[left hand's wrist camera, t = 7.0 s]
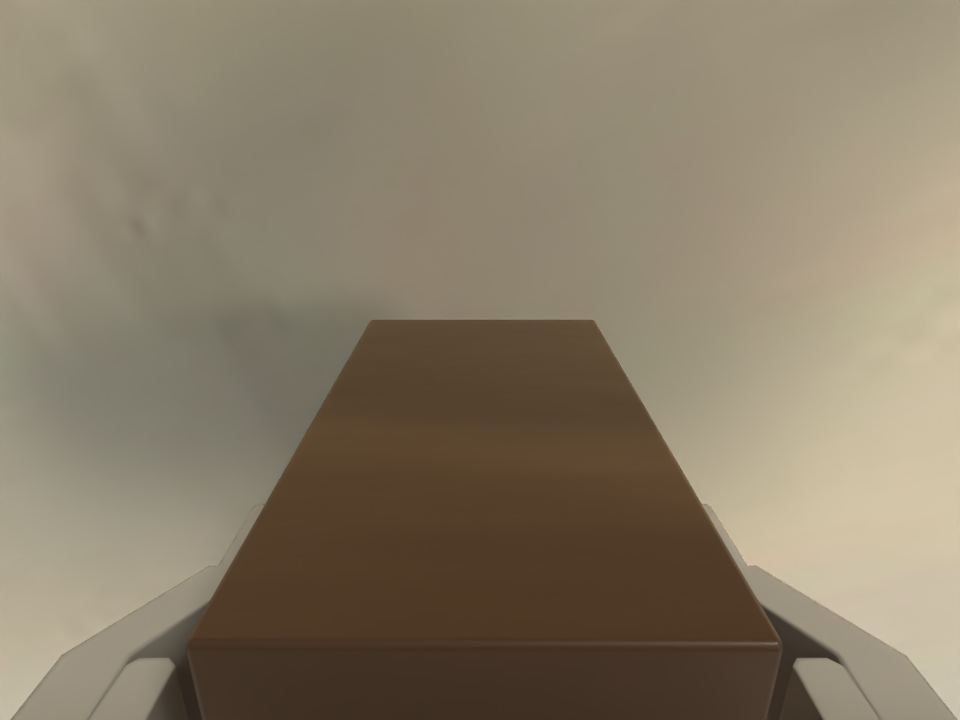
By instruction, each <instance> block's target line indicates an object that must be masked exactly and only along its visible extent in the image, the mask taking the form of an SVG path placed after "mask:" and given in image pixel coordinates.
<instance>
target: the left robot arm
mask: <svg viewBox="0 0 960 720" xmlns="http://www.w3.org/2000/svg"><path fill="white" fill-rule="evenodd" d="M264 505H265V504H259V505H257V506H255V507H254V508H253V509H252V510H251V512H250V514H249V515H248V517H247V519H246V520H245V522H244V524H243V525H242V527H241V529H240V530H239V532H238V534H237V535H236V537H235V539H234V540H233V542H232V544H231V545H230V547H229V549H228V550H227V552H226V554H225V555H224V557H223V559H222V560H221V562H220V564H219V565H218V566H208V567H207V568H205V569H203V570H202V571H200V572H199V573H197V574H195V575H194V576H192V577H190V578H189V579H187V580H185V581H184V582H182V583H180V584H179V585H177V586H175V587H174V588H172V589H170V590H169V591H167V592H165V593H164V594H162V595H160V596H159V597H157V598H156V599H154V600H152V601H151V602H149V603H147V604H146V605H144V606H142V607H141V608H139V609H137V610H136V611H134V612H132V613H131V614H129V615H127V616H126V617H124V618H122V619H121V620H119V621H117V622H116V623H114V624H113V625H111V626H109V627H108V628H106V629H104V630H103V631H101V632H99V633H98V634H96V635H94V636H93V637H91V638H89V639H88V640H86V641H84V642H83V643H81V644H79V645H78V646H76V647H74V648H73V649H71V650H70V651H68V652H66V653H65V654H63V655H62V656H61V657H60V658H59V659H58V661H57V662H56V663H55V664H54V666H53V667H52V668H51V669H50V671H49V672H48V673H47V674H46V676H45V677H44V678H43V680H42V681H41V682H40V683H39V685H38V686H37V687H36V688H35V690H34V691H33V692H32V693H31V695H30V696H29V697H28V698H27V700H26V701H25V702H24V703H23V705H22V706H21V707H20V709H19V710H18V711H17V712H16V714H15V715H14V716H13V717H12V719H11V720H202V717H201V712H200V708H199V704H198V700H197V695H196V691H195V687H194V682H193V678H192V674H191V669H190V665H189V661H188V656H187V652H186V643H187V640H188V638H189V636H190V634H191V633H192V631H193V629H194V627H195V626H196V624H197V622H198V620H199V619H200V617H201V615H202V613H203V612H204V610H205V608H206V606H207V605H208V603H209V601H210V599H211V598H212V596H213V594H214V593H215V591H216V589H217V587H218V586H219V584H220V582H221V580H222V579H223V577H224V575H225V573H226V572H227V570H228V568H229V566H230V565H231V563H232V561H233V559H234V558H235V556H236V554H237V552H238V551H239V549H240V547H241V545H242V544H243V542H244V540H245V539H246V537H247V535H248V533H249V532H250V530H251V528H252V526H253V525H254V523H255V521H256V519H257V518H258V516H259V514H260V512H261V511H262V509H263V507H264ZM702 506H703V507H704V509H705V511H706V512H707V514H708V516H709V518H710V519H711V521H712V523H713V524H714V526H715V528H716V530H717V531H718V533H719V535H720V536H721V538H722V540H723V541H724V543H725V545H726V547H727V548H728V550H729V552H730V553H731V555H732V557H733V559H734V560H735V562H736V564H737V565H738V567H739V569H740V570H741V572H742V574H743V576H744V577H745V579H746V581H747V582H748V584H749V586H750V588H751V589H752V591H753V593H754V594H755V596H756V598H757V599H758V601H759V603H760V605H761V606H762V608H763V610H764V611H765V613H766V615H767V617H768V618H769V620H770V622H771V623H772V625H773V627H774V629H775V630H776V632H777V634H778V635H779V637H780V639H781V641H782V645H783V652H782V656H781V660H780V665H779V669H778V673H777V677H776V682H775V686H774V690H773V694H772V698H771V703H770V707H769V711H768V715H767V719H766V720H957V718H956V717H955V716H954V715H953V713H952V712H951V711H950V710H949V708H948V707H947V706H946V705H945V703H944V702H943V701H942V700H941V698H940V697H939V696H938V695H937V693H936V692H935V691H934V690H933V688H932V687H931V686H930V685H929V683H928V682H927V681H926V680H925V678H924V677H923V676H922V675H921V673H920V672H919V671H918V670H917V668H916V667H915V666H914V665H913V663H912V662H911V661H910V660H909V658H908V657H907V656H906V655H904V654H902V653H901V652H899V651H897V650H896V649H894V648H892V647H891V646H889V645H887V644H886V643H884V642H882V641H881V640H879V639H877V638H876V637H874V636H872V635H871V634H869V633H867V632H866V631H864V630H862V629H861V628H859V627H857V626H856V625H854V624H852V623H851V622H849V621H847V620H846V619H844V618H842V617H841V616H839V615H837V614H836V613H834V612H832V611H831V610H829V609H827V608H826V607H824V606H822V605H821V604H819V603H817V602H816V601H814V600H812V599H811V598H809V597H807V596H806V595H804V594H802V593H801V592H799V591H797V590H796V589H794V588H792V587H791V586H789V585H787V584H786V583H784V582H782V581H781V580H779V579H778V578H776V577H774V576H773V575H771V574H769V573H768V572H766V571H764V570H763V569H761V568H759V567H758V566H747V564H746V562H745V561H744V559H743V558H742V556H741V554H740V553H739V551H738V549H737V548H736V546H735V545H734V543H733V541H732V540H731V538H730V537H729V535H728V533H727V532H726V530H725V528H724V527H723V525H722V524H721V522H720V520H719V519H718V517H717V516H716V514H715V512H714V511H713V509H712V507H711V506H709V505H707V504H702Z"/></svg>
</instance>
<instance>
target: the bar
mask: <svg viewBox="0 0 960 720" xmlns="http://www.w3.org/2000/svg"><path fill="white" fill-rule="evenodd" d="M186 652H187V656H188V661H189V665H190V669H191V674H192V678H193V682H194V687H195V691H196V695H197V700H198V704H199V708H200V712H201V717H202V720H766V719H767V715H768V711H769V707H770V703H771V698H772V694H773V690H774V686H775V682H776V677H777V673H778V669H779V665H780V660H781V656H782V652H783V645H782V641H781V639H780V637H779V635H778V634H777V632H776V630H775V629H774V627H773V625H772V623H771V622H770V620H769V618H768V617H767V615H766V613H765V611H764V610H763V608H762V606H761V605H760V603H759V601H758V599H757V598H756V596H755V594H754V593H753V591H752V589H751V588H750V586H749V584H748V582H747V581H746V579H745V577H744V576H743V574H742V572H741V570H740V569H739V567H738V565H737V564H736V562H735V560H734V559H733V557H732V555H731V553H730V552H729V550H728V548H727V547H726V545H725V543H724V541H723V540H722V538H721V536H720V535H719V533H718V531H717V530H716V528H715V526H714V524H713V523H712V521H711V519H710V518H709V516H708V514H707V512H706V511H705V509H704V507H703V506H702V504H701V502H700V501H699V499H698V497H697V495H696V494H695V492H694V490H693V489H692V487H691V485H690V483H689V482H688V480H687V478H686V477H685V475H684V473H683V471H682V470H681V468H680V466H679V465H678V463H677V461H676V460H675V458H674V456H673V454H672V453H671V451H670V449H669V448H668V446H667V444H666V442H665V441H664V439H663V437H662V436H661V434H660V432H659V431H658V429H657V427H656V425H655V424H654V422H653V420H652V419H651V417H650V415H649V413H648V412H647V410H646V408H645V407H644V405H643V403H642V402H641V400H640V398H639V396H638V395H637V393H636V391H635V390H634V388H633V386H632V384H631V383H630V381H629V379H628V378H627V376H626V374H625V373H624V371H623V369H622V367H621V366H620V364H619V362H618V361H617V359H616V357H615V355H614V354H613V352H612V350H611V349H610V347H609V345H608V344H607V342H606V340H605V338H604V337H603V335H602V333H601V332H600V330H599V328H598V326H597V325H596V323H595V321H593V320H372V321H370V323H369V324H368V326H367V328H366V329H365V331H364V333H363V335H362V336H361V338H360V340H359V342H358V343H357V345H356V347H355V349H354V350H353V352H352V354H351V356H350V357H349V359H348V361H347V363H346V364H345V366H344V368H343V370H342V371H341V373H340V375H339V377H338V378H337V380H336V382H335V383H334V385H333V387H332V389H331V390H330V392H329V394H328V396H327V397H326V399H325V401H324V403H323V404H322V406H321V408H320V410H319V411H318V413H317V415H316V417H315V418H314V420H313V422H312V424H311V425H310V427H309V429H308V431H307V432H306V434H305V436H304V437H303V439H302V441H301V443H300V444H299V446H298V448H297V450H296V451H295V453H294V455H293V457H292V458H291V460H290V462H289V464H288V465H287V467H286V469H285V471H284V472H283V474H282V476H281V478H280V479H279V481H278V483H277V485H276V486H275V488H274V490H273V491H272V493H271V495H270V497H269V498H268V500H267V502H266V504H265V505H264V507H263V509H262V511H261V512H260V514H259V516H258V518H257V519H256V521H255V523H254V525H253V526H252V528H251V530H250V532H249V533H248V535H247V537H246V539H245V540H244V542H243V544H242V545H241V547H240V549H239V551H238V552H237V554H236V556H235V558H234V559H233V561H232V563H231V565H230V566H229V568H228V570H227V572H226V573H225V575H224V577H223V579H222V580H221V582H220V584H219V586H218V587H217V589H216V591H215V593H214V594H213V596H212V598H211V599H210V601H209V603H208V605H207V606H206V608H205V610H204V612H203V613H202V615H201V617H200V619H199V620H198V622H197V624H196V626H195V627H194V629H193V631H192V633H191V634H190V636H189V638H188V640H187V643H186Z"/></svg>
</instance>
